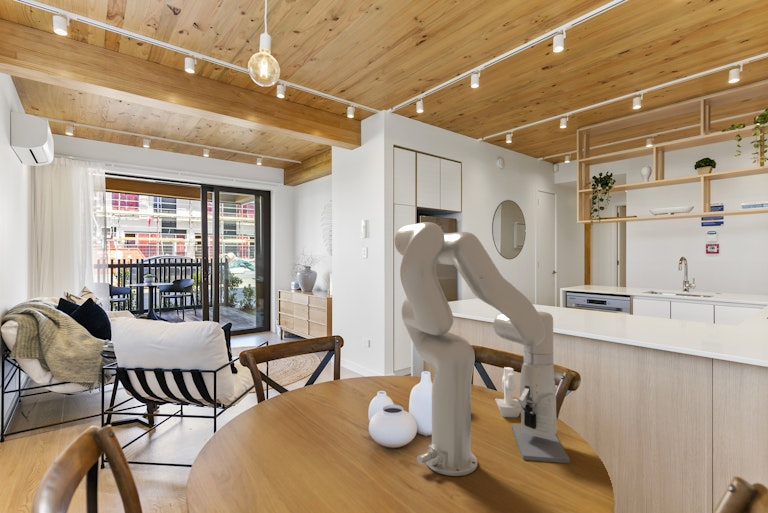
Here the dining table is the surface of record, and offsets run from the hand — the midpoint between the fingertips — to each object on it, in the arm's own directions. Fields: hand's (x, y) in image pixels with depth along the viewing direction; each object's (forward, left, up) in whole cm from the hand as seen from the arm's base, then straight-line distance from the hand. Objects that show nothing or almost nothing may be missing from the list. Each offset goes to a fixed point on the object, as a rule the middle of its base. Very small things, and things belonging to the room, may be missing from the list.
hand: (538, 422), depth 106 cm
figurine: (+10, +17, -6) cm, 21 cm away
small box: (0, 0, -3) cm, 3 cm away
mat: (0, 0, -6) cm, 6 cm away
